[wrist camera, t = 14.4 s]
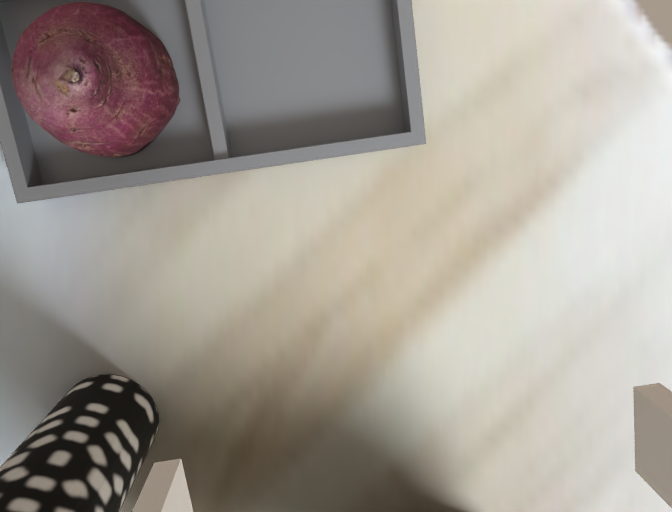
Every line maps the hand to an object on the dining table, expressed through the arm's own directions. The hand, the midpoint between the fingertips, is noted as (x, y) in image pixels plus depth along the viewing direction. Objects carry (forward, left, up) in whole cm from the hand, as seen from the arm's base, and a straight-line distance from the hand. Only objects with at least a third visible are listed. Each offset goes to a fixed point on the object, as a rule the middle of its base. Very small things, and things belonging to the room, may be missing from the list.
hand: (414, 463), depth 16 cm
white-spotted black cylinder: (-12, +22, -31) cm, 40 cm away
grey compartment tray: (+15, +8, -31) cm, 35 cm away
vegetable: (+15, +15, -30) cm, 37 cm away
